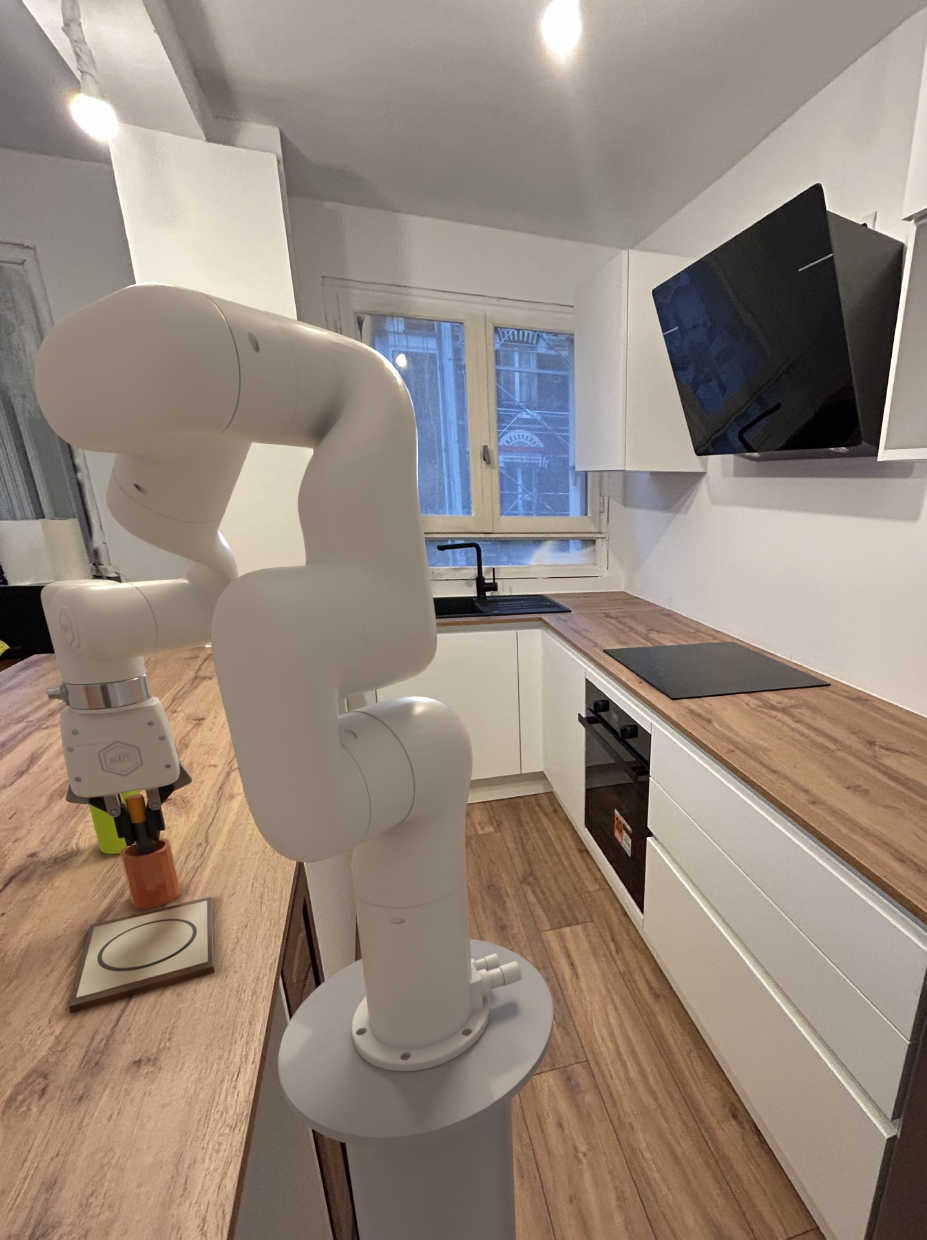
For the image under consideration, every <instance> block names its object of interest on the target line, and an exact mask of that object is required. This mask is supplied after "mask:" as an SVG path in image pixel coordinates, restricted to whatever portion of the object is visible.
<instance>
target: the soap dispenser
mask: <svg viewBox="0 0 927 1240" xmlns="http://www.w3.org/2000/svg"><path fill="white" fill-rule="evenodd" d="M134 794H141V790H138V791H132V792H125V793H121V797H122V801H123V803H124V804H126V802H125V798H126V797H128V796H130V795H134ZM88 806H89V807H88V808H89V811H90V814H91V818H92V823H93V826H94V830H95V833H96V837H97V841H98V846H99V849H100V852H102V853H103V854H108V855H115V854H116V855H117V854H119V855H120V851H121V850H122V849H123V848H124V847H126V842H125V838H120V839H119V838H118V835H117V831H116V827H115V823H114V819H113V817H111V816H109V815H108V813H107V812H104V811H102V810H100V809H98V808H96V807H94V806H92V805H90V804H88Z"/></svg>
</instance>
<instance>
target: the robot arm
mask: <svg viewBox="0 0 927 1240" xmlns="http://www.w3.org/2000/svg"><path fill="white" fill-rule="evenodd" d="M33 375H34V389H35V390H34V391H35V394H36V400H37V403H38V405H39V407H40V410H41V412H42V415H43V416H44V418H45V420H46V422H47V423H48V425H49V426H50V427H51V429H52V430H53V431H54V432H55V434H56V435H57V436H58V437H60V438H61V439H62V440H63V441H65V442H66V443H68V445H71V446H74V447H75V448H77V449H80V450H85V451H89V452H97V453H107V454H115V459H114V462H113V465H112V469H111V474H110V477H109V481H108V485H107V487H106V493H105V500H106V506H107V508H108V510H109V512H110V514H111V515H112V517H113V518H114V519H115V521H116V522H117V524H119V525H120V526H121V527H122V528H123V529H124V530H126V531H127V532H128V533H129V534H131V535H133V536H134V537H135V538H137V539H139V540H140V541H142V542H144V543H146V544H148V545H150V546H153V547H155V548H158V549H159V550H162V551H165V552H167V553H171V554H173V555H177V556H179V557H182V558H185V559H188V560H189V562H188V564H187V567H186V569H185V571H184V572H183V575H182V576H181V577H180V578H173V579H156V580H155V579H154V580H140V581H126V582H118V581H116V580H111V579H98V578H97V579H96V578H94V579H93V578H91V579H87V578H86V579H69V580H59V581H53V582H50V583H47V584H46V585H45V586H44V587H43V588H42V589H41V592H40V600H41V605H42V609H43V612H44V617H45V620H46V624H47V628H48V632H49V635H50V639H51V644H52V647H53V652H54V655H55V659H56V662H57V666H58V670H59V674H60V679H61V682H60V684H59V685H56V686H53V687H47V688H46V694H47V697H48V699H49V700H50V701H52V700H54V701H55V700H58V701H62V702H63V703H65V704H66V705H65V706H66V707H63V709H62V710H60V712H59V713H60V714H59V715H60V716H59V725H60V737H61V745H62V751H63V757H64V762H65V768H66V773H67V778H68V782H69V784H68V786H67V791H66V795H65V802H67V803H70V804H78V805H89V804H90V805H92V806H94V807H96V808H98V809H100V810H102V811H104V812H107V813H108V815H109V816H111V817H113V819H114V823H115V827H116V831H117V835H118V838H119V839H120V838H125V842H126V846H127V847H128V846H132V845H133V844H134V843H135V839H134V835H133V830H132V826H131V822H130V818H129V814H128V810H127V806H126V804H124V803H123V801H122V797H121V793H125V792H132V791H138V790H140V791H143V790H144V791H145V795H146V800H147V801H146V811H145V815H146V819H147V824H148V828H149V832H150V837H151V841H159V838H161V837H160V835H161V832H162V831H166V823H165V819H164V813H163V809H162V805H163V804H164V803H165V802H166V801H167V800H168V798H170V796H171V795H172V794H173V793H174V792H175V791H178V790H180V789H182V788H184V787H186V786H188V785H190V784H191V783H193V775H192V773H191V772H190V771H189V770H188V769H187V767H186V766H185V764H184V763H183V762H182V761H181V760H180V755H179V751H178V747H177V744H176V740H175V737H174V733H173V729H172V727H171V724H170V720H169V719H168V716H167V713H166V711H165V709H164V707H163V704H162V702H161V700H160V698H159V697H157V696H152V691H151V685H150V682H149V677H148V673H147V669H146V663H145V658H144V657H145V656H149V655H155V654H160V653H167V652H173V651H181V650H188V649H195V648H199V647H204V646H205V645H208V644H210V645H211V654H212V659H213V665H214V671H215V675H216V680H217V684H218V688H219V691H220V697H221V701H222V705H223V710H224V713H225V717H226V722H227V725H228V730H229V734H230V739H231V743H232V747H233V751H234V756H235V759H236V764H237V765H236V766H237V769H238V773H239V778H240V781H241V785H242V789H243V792H244V796H245V801H246V803H247V806H248V810H249V812H250V815H251V817H252V820H253V821H254V824H255V827H256V828H257V830H258V831H259V834H260V835H261V836H262V838H263V840H264V841H265V842H266V843H267V844H268V845H269V847H271V848H272V849H273V850H274V851H275V852H276V853H277V854H279V855H280V856H282V857H284V858H286V859H287V860H290V861H293V862H297V863H317V862H321V861H325V860H328V859H332V858H334V857H336V856H338V855H340V854H343V853H345V852H346V851H349V850H351V849H352V854H351V865H350V866H351V867H350V868H351V869H350V870H351V881H352V889H353V897H354V906H355V915H356V924H357V931H358V939H359V940H358V941H359V949H360V954H361V955H360V957H361V958H362V966H363V974H364V982H365V991H366V996H365V997H364V999H363V1000H362V1001H361V1003H360V1004H359V1005H358V1007H357V1009H356V1011H355V1013H354V1015H353V1019H352V1024H351V1029H352V1038H353V1043H354V1046H355V1048H356V1050H357V1052H358V1053H359V1054H360V1055H361V1056H362V1057H363V1058H364V1059H365V1060H366V1061H367V1062H369V1063H371V1064H372V1065H374V1066H376V1067H380V1068H383V1069H386V1070H392V1071H400V1072H402V1071H418V1070H423V1069H428V1068H432V1067H435V1066H438V1065H441V1064H444V1063H446V1062H448V1061H450V1060H452V1059H454V1058H456V1057H457V1056H459V1055H460V1054H462V1053H463V1052H465V1051H466V1050H467V1049H468V1048H470V1047H471V1046H472V1045H473V1044H474V1043H475V1042H476V1041H477V1040H478V1038H479V1037H480V1036H481V1034H482V1033H483V1032H484V1030H485V1027H486V1025H487V1023H488V1020H489V1015H490V1000H489V995H490V994H491V993H492V989H494V988H497V987H500V986H506V985H509V984H511V983H514V982H517V981H520V980H521V971H520V968H519V965H518V963H517V962H516V961H514V962H511V963H508V964H505V965H502V966H499V959H498V956H497V954H496V953H495V954H492V955H490V956H487V957H484V958H483V959H480V960H477V961H474V959H471V952H470V939H471V937H470V936H471V935H470V933H471V932H470V918H469V915H470V914H469V900H468V899H469V897H468V896H469V895H468V881H467V879H468V877H467V873H468V871H467V853H466V851H467V850H466V849H467V848H466V821H467V820H466V819H467V811H468V810H467V809H468V801H469V797H470V796H469V795H470V788H471V782H472V776H473V760H474V759H473V746H472V742H471V738H470V734H469V731H468V729H467V728H466V725H465V723H464V722H463V720H462V719H461V718H460V716H459V715H458V714H457V713H456V711H454V710H453V709H452V708H451V707H450V706H448V705H447V704H445V703H444V702H442V701H439V700H437V699H435V698H430V697H426V696H419V695H418V696H417V695H412V696H400V697H395V698H390V699H387V700H383V701H380V702H376V703H373V704H369V705H366V706H362V707H359V708H355V709H352V710H349V711H346V712H344V713H342V714H340V715H338V709H337V708H338V707H337V701H341V700H344V699H348V698H351V697H354V696H359V695H362V694H365V693H369V692H372V691H376V690H379V689H383V688H386V687H390V686H394V685H397V684H400V683H402V682H405V681H407V680H411V679H412V678H414V677H415V678H416V677H417V676H418V675H421V674H422V673H423V672H424V671H426V670H427V669H428V668H429V666H431V664H432V662H433V661H434V659H435V656H436V653H437V647H438V630H437V618H436V611H435V603H434V595H433V589H432V581H431V574H430V566H429V560H428V559H429V558H428V552H427V545H426V537H425V531H424V525H423V520H422V514H421V506H420V497H419V496H420V495H419V475H418V473H419V472H418V471H419V469H418V465H419V464H418V463H419V462H418V461H419V459H418V458H419V455H418V454H419V450H418V449H419V448H418V447H419V445H418V444H419V443H418V442H419V441H418V429H417V422H416V421H417V419H416V413H415V408H414V404H413V399H412V397H411V394H410V391H409V389H408V386H407V385H406V383H405V381H404V379H403V378H402V376H401V374H400V373H399V371H398V370H397V369H396V367H394V365H393V364H392V362H390V360H389V359H387V358H386V357H385V356H384V355H383V354H381V353H380V352H378V351H377V350H375V349H374V348H372V347H371V346H368V345H367V344H365V343H363V342H361V341H358V340H356V339H354V338H352V337H349V336H346V335H343V334H341V333H337V332H335V331H332V330H329V329H325V328H323V327H320V326H317V325H314V324H311V323H308V322H307V323H306V322H304V321H302V320H301V321H300V320H297V319H294V318H291V317H287V316H285V315H281V314H278V313H274V312H270V311H266V310H262V309H258V308H254V307H252V306H248V305H244V304H241V303H238V302H234V301H232V300H228V299H226V298H222V297H218V296H215V295H211V294H208V293H205V292H201V291H198V290H194V289H191V288H187V287H183V286H178V285H174V284H169V283H168V284H167V283H161V282H140V283H136V284H132V285H129V286H125V287H123V288H121V289H119V290H117V291H113V292H112V293H110V294H108V295H106V296H103V297H101V298H99V299H97V300H95V301H93V302H91V303H89V304H86V305H84V306H82V307H80V308H78V309H76V310H74V311H72V312H70V313H68V314H67V315H65V316H64V317H62V318H61V319H60V320H59V321H57V322H56V323H55V324H54V325H53V326H52V327H51V328H50V329H49V331H48V332H47V334H46V335H45V337H44V338H43V340H42V342H41V344H40V346H39V348H38V351H37V355H36V359H35V366H34V374H33ZM255 443H256V444H264V445H265V444H266V445H276V446H277V445H278V446H288V447H297V448H307V449H312V450H314V451H313V453H312V455H311V457H310V459H309V461H308V463H307V465H306V467H305V469H304V473H303V476H302V479H301V482H300V485H299V489H298V494H297V495H298V496H297V513H298V518H299V524H300V528H301V533H302V537H303V542H304V543H303V545H304V552H305V554H304V555H305V563H304V565H295V566H294V565H291V566H276V567H267V568H266V567H265V568H260V569H256V570H253V571H249V572H246V573H244V574H242V575H240V576H239V571H238V566H237V562H236V559H235V556H234V553H233V551H232V548H231V547H230V545H229V543H228V541H227V540H226V538H225V536H223V534H222V533H221V531H220V530H219V529H220V526H221V523H222V521H223V519H224V517H225V516H224V515H225V514H226V510H227V508H228V505H229V503H230V500H231V498H232V495H233V493H234V490H235V487H236V484H237V482H238V480H239V477H240V475H241V472H242V470H243V467H244V464H245V462H246V459H247V457H248V454H249V451H250V449H251V446H252V444H255ZM497 967H498V968H497ZM494 968H497V969H494ZM491 969H494V970H491ZM488 970H491V971H488ZM487 971H488V972H487Z"/></svg>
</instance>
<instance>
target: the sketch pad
mask: <svg viewBox="0 0 927 1240" xmlns="http://www.w3.org/2000/svg"><path fill="white" fill-rule="evenodd" d="M213 900H214V899H213V897H212V896H209V897H204V898H200V899H195V900H190V901H187V902H183V903H178V904H177V903H176V904H174V905H169V906H166V907H165V906H164V907H161V908H157V909H152V910H148V911H143V912H140V913H139V912H138V913H134V914H131V915H125V916H122V917H118V918H113V919H109V920H105V921H104V920H103V921H100V922H97V923H92V924H90V925H89V928H88V933H87V936H86V940H85V943H84V947H83V951H82V955H81V957H80V958H81V959H80V962H79V967H78V970H77V973H76V976H75V981H74V985H73V987H72V988H73V989H72V992H71V995H70V1000H69V1003H68V1010H69V1013H71V1014H72V1013H76V1012H79V1011H83V1010H85V1009H89V1008H93V1007H97V1006H100V1005H103V1004H104V1005H105V1004H107V1003H111V1002H114V1001H117V1000H121V999H125V998H128V997H132V996H135V995H139V994H142V993H146V992H149V991H153V990H156V989H160V988H163V987H167V986H170V985H174V984H178V983H180V982H181V983H182V982H185V981H187V980H188V981H189V980H192V979H195V978H199V977H203V976H205V975H209V974H213V973H215V971H216V970H215V938H214V937H215V935H214V932H215V931H214V901H213Z"/></svg>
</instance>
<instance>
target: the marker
mask: <svg viewBox="0 0 927 1240" xmlns="http://www.w3.org/2000/svg"><path fill="white" fill-rule="evenodd" d="M125 802H126V806H127V810H128V814H129V818H130V822H131V826H132V830H133V835H134V839H135V843H136V847H137V852H138V856H142V855H147V854H150V853H153V852H156V848H155V843H154V841H151V837H150V832H149V828H148V824H147V819H146V815H145V811H146V805H147V803H146V800H145V796H144V794H142V793H140V794H134V795H130V796H128V797H126V798H125Z"/></svg>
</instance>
